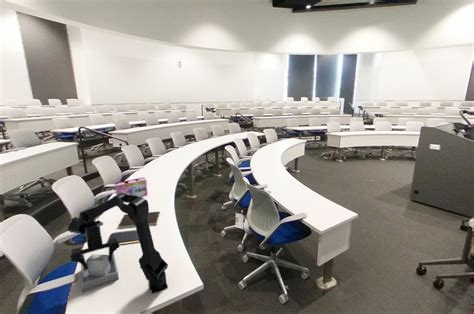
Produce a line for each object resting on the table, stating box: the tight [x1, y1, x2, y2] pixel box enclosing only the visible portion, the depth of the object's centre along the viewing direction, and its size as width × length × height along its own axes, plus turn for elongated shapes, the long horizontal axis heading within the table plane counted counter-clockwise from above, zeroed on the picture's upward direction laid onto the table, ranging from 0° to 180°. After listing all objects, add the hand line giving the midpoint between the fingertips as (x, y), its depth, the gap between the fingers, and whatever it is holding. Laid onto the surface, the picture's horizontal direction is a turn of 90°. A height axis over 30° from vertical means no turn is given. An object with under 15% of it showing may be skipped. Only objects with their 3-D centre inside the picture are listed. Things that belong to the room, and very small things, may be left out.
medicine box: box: [85, 254, 111, 276], centre depth 112 cm, size 8×4×9 cm, turn 87°
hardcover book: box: [118, 211, 160, 229], centre depth 163 cm, size 16×23×2 cm
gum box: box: [114, 177, 149, 197], centre depth 201 cm, size 24×8×14 cm, turn 126°
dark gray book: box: [106, 229, 140, 247], centre depth 143 cm, size 20×2×15 cm
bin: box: [80, 253, 119, 292], centre depth 113 cm, size 14×16×4 cm
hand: (98, 265), depth 112 cm, fingers open, 9 cm apart
